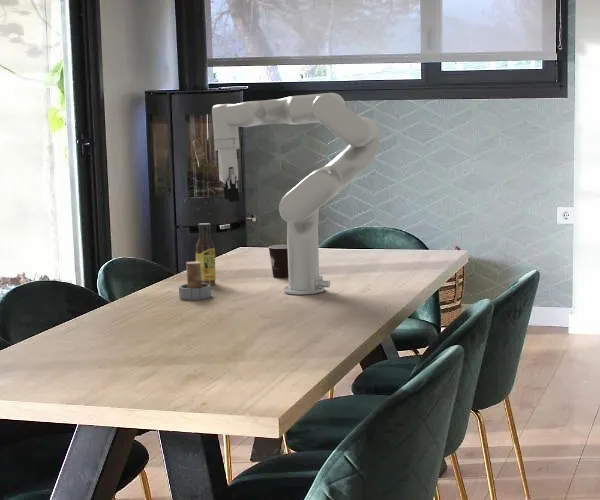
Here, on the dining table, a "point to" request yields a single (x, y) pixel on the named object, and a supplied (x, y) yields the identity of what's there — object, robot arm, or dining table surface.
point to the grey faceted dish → (195, 292)
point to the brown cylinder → (193, 274)
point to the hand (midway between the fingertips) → (231, 200)
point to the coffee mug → (279, 261)
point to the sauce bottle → (206, 254)
